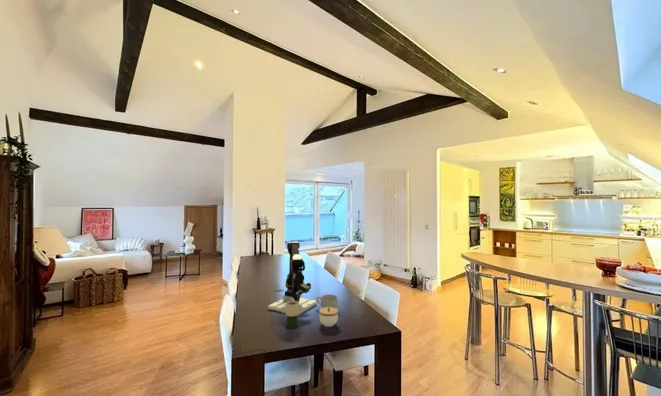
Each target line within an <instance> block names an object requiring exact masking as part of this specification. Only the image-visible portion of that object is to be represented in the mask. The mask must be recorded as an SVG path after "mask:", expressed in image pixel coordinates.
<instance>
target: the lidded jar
mask: <svg viewBox="0 0 661 396" xmlns="http://www.w3.org/2000/svg"><path fill="white" fill-rule="evenodd" d="M318 317H319V321H320V323H321V325H322V326H323V327H326V328H331V327H334V326H335V325H336V323H337V322H338V318H339V309H338V308H332V307H325V308H322V307H321V308H320V309H319V310H318Z"/></svg>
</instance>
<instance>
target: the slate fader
mask: <svg viewBox="0 0 661 396" xmlns="http://www.w3.org/2000/svg"><path fill="white" fill-rule="evenodd" d="M282 299H283V300H284V301H291V300H293V297H288V296H285V294H284V295H283V296H282Z"/></svg>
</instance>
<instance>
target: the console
mask: <svg viewBox="0 0 661 396" xmlns="http://www.w3.org/2000/svg"><path fill="white" fill-rule="evenodd" d="M291 301H294V299H293V300H291ZM286 302H287V301H284V300H283V298H282V299H280V300H277V301H275V302H273V303H270V304H269V305H268V310H269V311H272V312H273V311H274V312H277V313H282V307H285V306H286ZM299 305H302V311H299V313H298V315H296V316H297V317H299V316H300V315H301V314H304V313H305V312H307V311H308V310H310V309H312V308H314V307H315V306H317V305H318V302H317V301H316V299H315V300H313V299H308V298H303V297H300V300H299ZM299 310H300V307H299ZM284 311H286V308H284Z"/></svg>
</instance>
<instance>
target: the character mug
mask: <svg viewBox="0 0 661 396" xmlns="http://www.w3.org/2000/svg"><path fill="white" fill-rule="evenodd" d="M299 307H300V310H299ZM284 308H286V311H284ZM299 311H302V305H299V302H298V301H287V302H286V306H285V307H282V312H281V313H282V314H285V315H286V316H287V317H286V327H287V328H289V329H294V328H296V327H298V325H299V323H298V316H299V315H298V313H299ZM296 315H298V316H296Z"/></svg>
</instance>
